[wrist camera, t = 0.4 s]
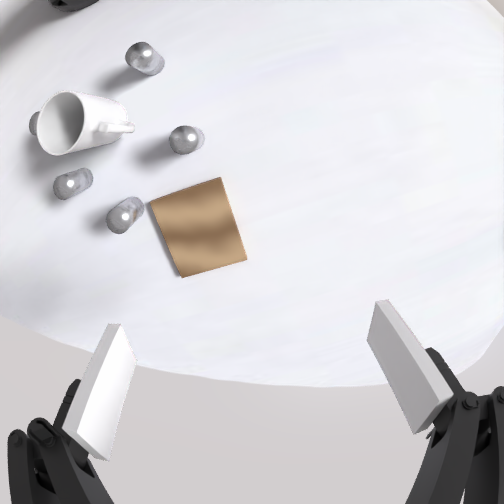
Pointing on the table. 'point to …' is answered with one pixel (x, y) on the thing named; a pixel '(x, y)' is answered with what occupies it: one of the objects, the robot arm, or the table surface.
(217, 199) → the trivet
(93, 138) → the mug
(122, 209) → the cylinder
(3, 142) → the table surface
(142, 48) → the cylinder
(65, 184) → the cylinder
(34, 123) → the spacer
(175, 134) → the cylinder
